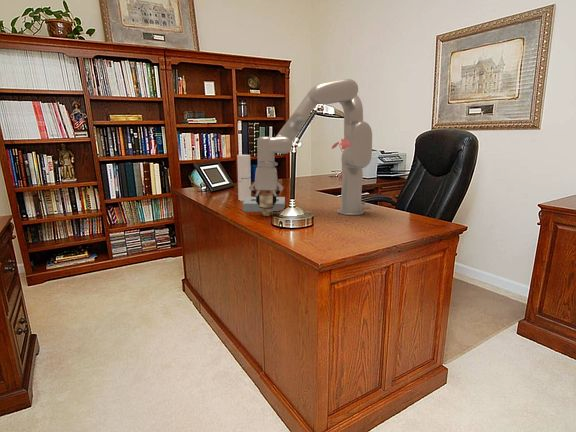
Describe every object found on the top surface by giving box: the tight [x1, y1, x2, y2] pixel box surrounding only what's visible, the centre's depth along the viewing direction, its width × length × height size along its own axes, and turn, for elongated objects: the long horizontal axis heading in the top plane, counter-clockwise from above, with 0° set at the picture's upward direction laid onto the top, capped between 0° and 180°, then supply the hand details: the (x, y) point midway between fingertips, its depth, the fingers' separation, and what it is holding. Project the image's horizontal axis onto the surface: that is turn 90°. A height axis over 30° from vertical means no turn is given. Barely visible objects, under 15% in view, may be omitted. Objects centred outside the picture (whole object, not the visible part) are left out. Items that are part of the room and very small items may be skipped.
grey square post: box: [236, 154, 252, 202], centre depth 195 cm, size 7×7×25 cm
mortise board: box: [242, 196, 286, 213], centre depth 177 cm, size 20×18×4 cm
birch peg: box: [259, 193, 274, 217], centre depth 160 cm, size 6×6×10 cm
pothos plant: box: [331, 136, 351, 181], centre depth 276 cm, size 15×26×35 cm, turn 99°
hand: (266, 204), depth 160 cm, fingers closed on birch peg, 6 cm apart
